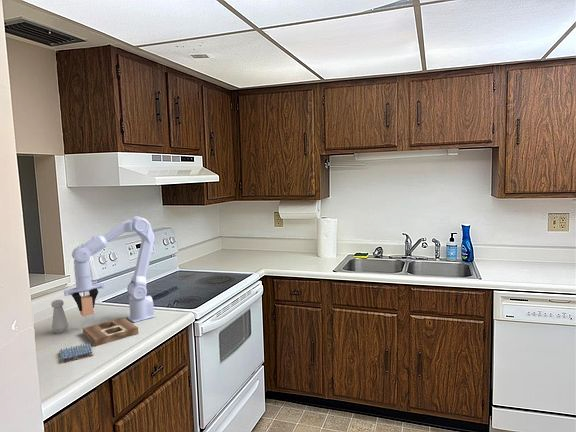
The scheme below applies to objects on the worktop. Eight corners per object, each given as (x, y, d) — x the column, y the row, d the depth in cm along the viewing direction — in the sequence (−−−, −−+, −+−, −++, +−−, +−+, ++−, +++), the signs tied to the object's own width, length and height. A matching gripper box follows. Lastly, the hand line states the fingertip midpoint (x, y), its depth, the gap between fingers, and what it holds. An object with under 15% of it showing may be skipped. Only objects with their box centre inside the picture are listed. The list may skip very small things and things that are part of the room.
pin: (90, 311, 175) (89, 294, 174) (93, 313, 172) (92, 297, 171) (80, 313, 172) (78, 297, 172) (83, 316, 169) (81, 299, 169)
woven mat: (90, 346, 157) (90, 341, 157) (94, 357, 148) (94, 351, 148) (59, 354, 152) (58, 348, 151) (60, 365, 143) (60, 359, 142)
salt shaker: (71, 328, 175) (68, 297, 173) (64, 333, 169) (61, 302, 167) (56, 329, 175) (53, 298, 173) (49, 334, 169) (46, 303, 167)
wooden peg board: (124, 323, 178) (123, 317, 178) (138, 333, 166) (138, 327, 166) (83, 334, 168) (82, 327, 168) (95, 346, 156) (95, 339, 156)
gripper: (98, 271, 178) (102, 302, 180) (60, 278, 169) (64, 311, 170) (104, 274, 173) (107, 306, 174) (65, 281, 163) (69, 315, 165)
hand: (86, 309), depth 172 cm, fingers closed on pin, 4 cm apart
